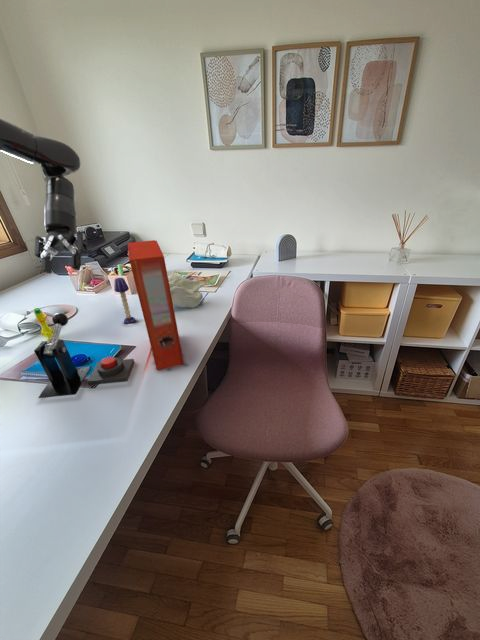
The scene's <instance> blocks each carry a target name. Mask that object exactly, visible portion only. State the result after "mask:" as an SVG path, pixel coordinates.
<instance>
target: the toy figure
mask: <svg viewBox="0 0 480 640" xmlns="http://www.w3.org/2000/svg"><path fill="white" fill-rule="evenodd" d="M33 311H34V312H33V313H34V316H35V318H36V321H37V322H38V323H39V325H40V326H41V327H42V328H41V331H40V334H41V336H43V337H45V338H47V339H48V340H50V339H52V336H53V332H54V328H52V327H51V326H48V322H47V314H46V313H43V310H41V309H40V308H39V307H36V308H33Z"/></svg>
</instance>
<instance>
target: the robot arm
mask: <svg viewBox="0 0 480 640" xmlns="http://www.w3.org/2000/svg"><path fill="white" fill-rule="evenodd" d="M0 152H3V153H4V154H7V155H9V156H11V157H14V158H17V159H20V160H22V161H24V162H26V163H30V164H33V165H39V167H40V171H41V173H42V174H41V175H42V178H43V180H44V183H45V200H44V229H45V231H46V235H45V236H42V237H41V236H39V235H36V236H35V240H34V257H36V258H39V259H41V270H42V271H43V272H44V273H46V274H52V272H53V270H52V269H53V265H52V263H53V262H52V259H53V258H54V256H57V255H58V253H61V252H70V253H72V254H71V268H72V270H75V271H80V269H81V268H82V259H81V258H82V257H83V256H84V255H85V256H87V255H88V254H89V249H88V236H87V235H86V234H85V233H84V232H83V231H81V230H78V229H77V228H78V227H77V226H78V224H77V223H78V222H77V207H76V188H75V185H74V183H73V182H72V181H71V180H69V179H68V178H66V176H69V175H72V174H75V173H76V172H78V171H79V170H80V168H81V166H82V161H81V158H80V156H79V154H78V153H77V152H76V150H74V149H73V148H72V147H71V146H70V145H68V144H66V143H65V142H63V141H59V140H56V139H52V138H49V137H45V136H40V135H37V134H33V133H31V132H30V131H27V130H26V129H24V128H22V127H19V126H18V125H16V124H13V123H11V122H9V121H7V120H4V119H2V118H0ZM76 242H77V246H76V245H75V243H76Z"/></svg>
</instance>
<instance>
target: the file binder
mask: <svg viewBox="0 0 480 640" xmlns="http://www.w3.org/2000/svg"><path fill="white" fill-rule="evenodd" d="M127 251H128V260H129V261H128V262H129V265H130V269H131V273H132V276H133V279H134V285H135V288H136V292H137V296H138V300H139V304H140V309H141V312H142V316H143V320H144V324H145V328H146V333H147V336H148V341H149V344H150V348H151V352H152V357H153V361H154V364H155V368H156V370H157V371H161V370H166V369H170V368H173V367H177V366H183V365H184V364H185V363H184V356H183V351H182V346H181V340H180V335H179V329H178V325H177V319H176V314H175V308H174V305H173V302H172V297H171V292H170V286H169V281H168V278H169V275H168V271H167V264H166V261H165V260H166V259H165V255H164V254H163V252H162V249H161V247H160V245H159V243H158V240H154V239H153V240H143V241H132V242H127Z"/></svg>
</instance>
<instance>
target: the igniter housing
mask: <svg viewBox="0 0 480 640" xmlns="http://www.w3.org/2000/svg"><path fill="white" fill-rule="evenodd" d="M114 358H115V360H116V363H117V365H116V366H115V367H113V368H110V369H104V368H103V367H102V364H101V361H97V362H96V365H95V366H94V368H93V370H92V372H91V373H90V375H89V377H88V379H87V381H86V383H87V384H88V386H92V385H103V384H112V383H113V384H114V383H124V382H128V380H129V378H130V375H131V372H132V369H133V368H134V365H135V359H134V358H128V359H127V358H125V359H121V357H120V358H119V357H114Z"/></svg>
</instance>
